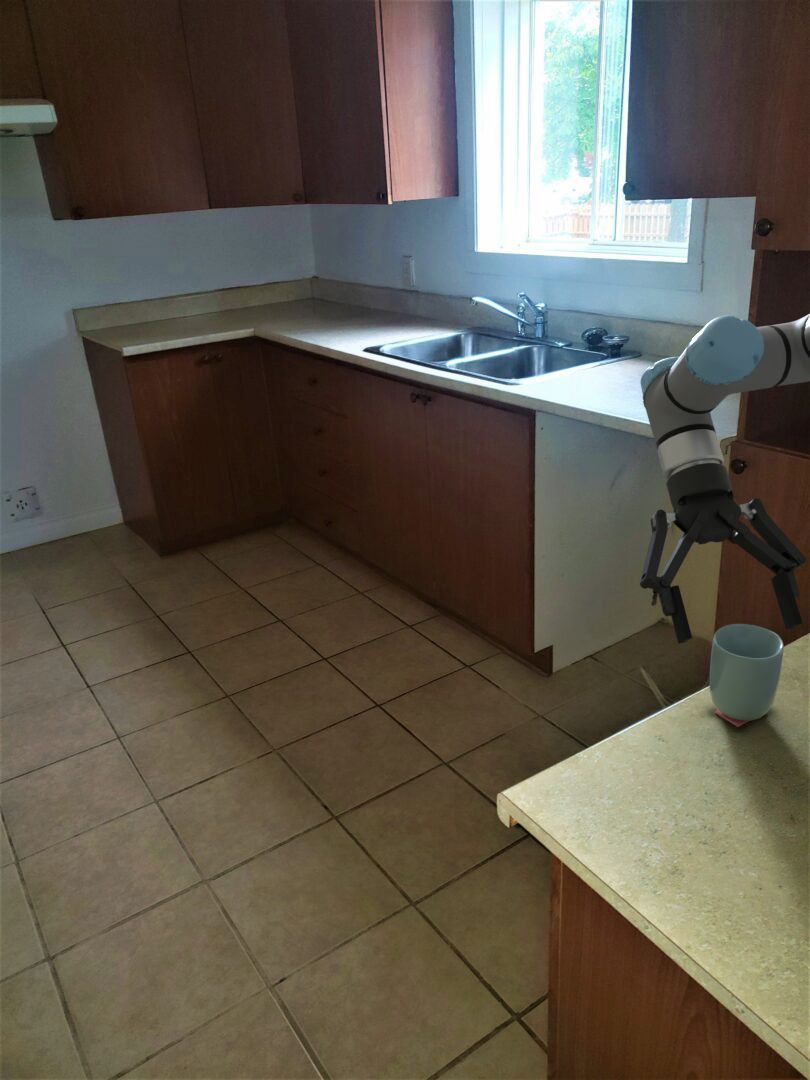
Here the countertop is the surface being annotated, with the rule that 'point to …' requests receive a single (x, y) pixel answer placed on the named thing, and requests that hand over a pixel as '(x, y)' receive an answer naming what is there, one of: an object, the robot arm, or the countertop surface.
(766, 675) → the cup
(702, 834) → the countertop surface
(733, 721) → the eraser
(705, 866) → the countertop surface
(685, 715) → the countertop surface
